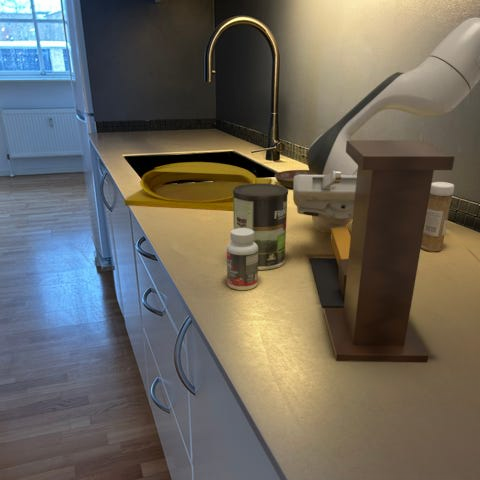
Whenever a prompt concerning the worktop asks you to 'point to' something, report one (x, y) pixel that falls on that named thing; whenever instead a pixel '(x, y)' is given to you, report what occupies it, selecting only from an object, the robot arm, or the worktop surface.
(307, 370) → the worktop surface
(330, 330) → the pedestal
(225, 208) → the mold
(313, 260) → the mat
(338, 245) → the brown and tan bar
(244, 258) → the pill bottle
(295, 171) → the plant saucer
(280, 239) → the coffee can
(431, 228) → the spice jar
